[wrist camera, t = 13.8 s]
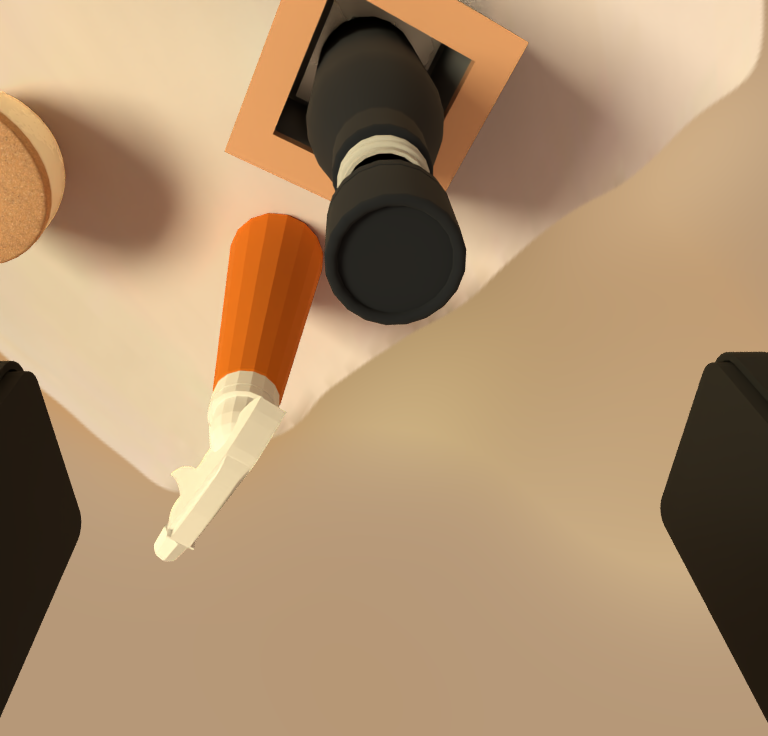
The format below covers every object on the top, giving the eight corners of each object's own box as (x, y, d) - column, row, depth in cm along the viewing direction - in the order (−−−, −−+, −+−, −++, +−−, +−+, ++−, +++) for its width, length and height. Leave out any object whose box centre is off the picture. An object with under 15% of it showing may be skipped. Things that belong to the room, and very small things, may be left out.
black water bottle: (342, -5, 41) (334, 96, 16) (435, 46, 43) (561, 209, 18) (301, 96, 44) (241, 316, 19) (390, 140, 46) (442, 394, 21)
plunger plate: (340, -16, 42) (340, -15, 41) (439, 40, 43) (441, 42, 43) (296, 92, 45) (295, 95, 44) (390, 140, 47) (391, 144, 46)
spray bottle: (187, 295, 54) (74, 551, 31) (265, 192, 49) (199, 403, 27) (261, 343, 56) (206, 610, 34) (342, 249, 52) (338, 484, 30)
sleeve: (320, -81, 41) (312, -85, 31) (490, 19, 44) (528, 42, 35) (249, 107, 46) (224, 151, 37) (404, 183, 49) (417, 241, 40)
